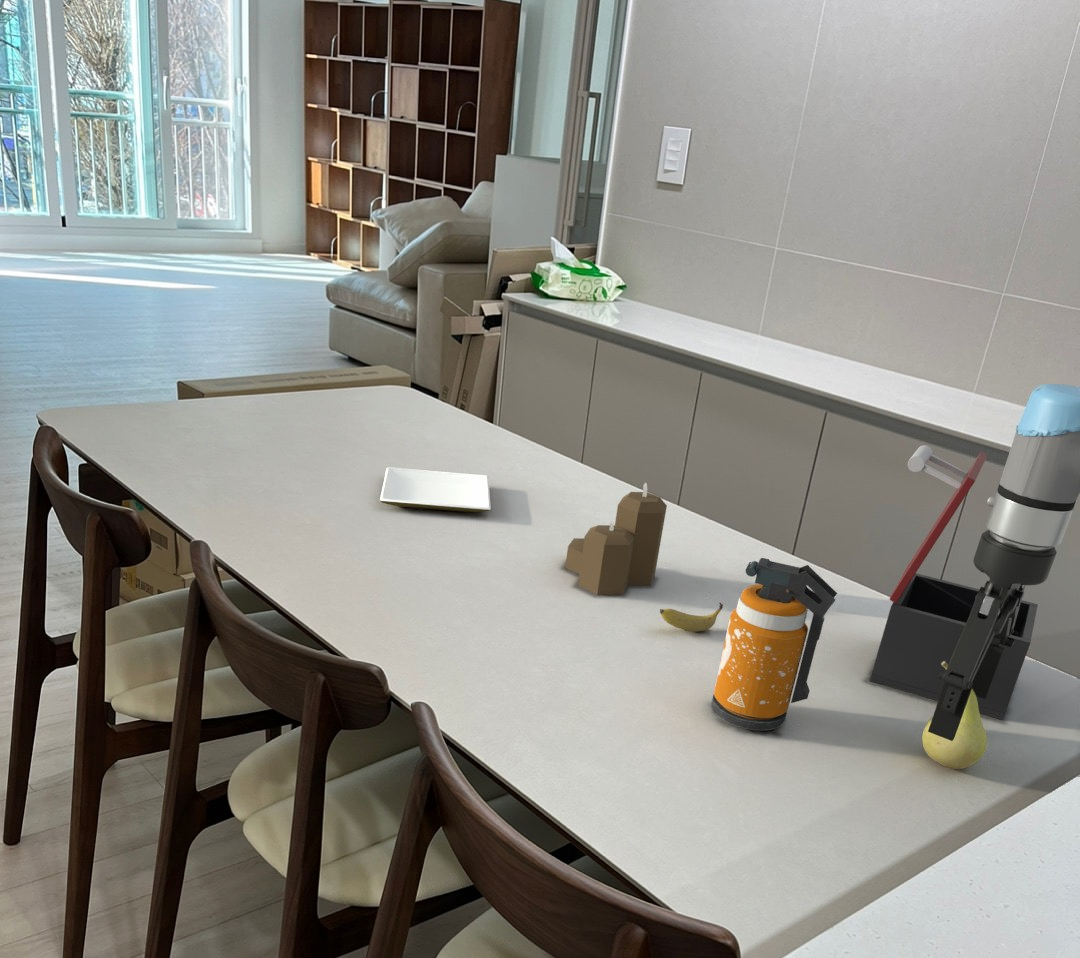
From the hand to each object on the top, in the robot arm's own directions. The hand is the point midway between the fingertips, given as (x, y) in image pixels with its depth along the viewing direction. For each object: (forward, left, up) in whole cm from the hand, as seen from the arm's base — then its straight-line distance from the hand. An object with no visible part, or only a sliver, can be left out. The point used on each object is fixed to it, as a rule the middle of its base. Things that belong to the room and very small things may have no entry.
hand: (958, 714), depth 120 cm
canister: (+21, +7, -7) cm, 23 cm away
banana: (+39, -9, -7) cm, 40 cm away
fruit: (0, 0, -7) cm, 7 cm away
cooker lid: (+12, -22, +14) cm, 29 cm away
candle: (+57, -18, -7) cm, 60 cm away
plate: (+98, -24, -7) cm, 101 cm away
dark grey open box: (+7, -23, -7) cm, 25 cm away
